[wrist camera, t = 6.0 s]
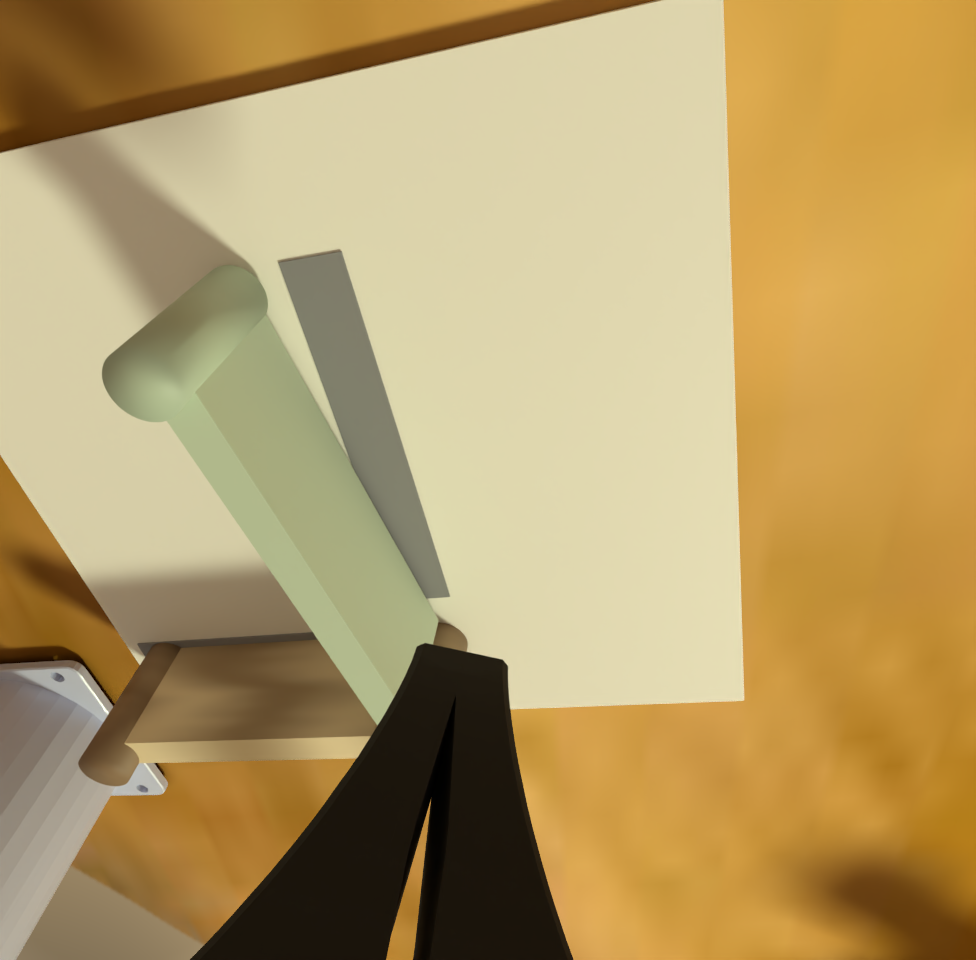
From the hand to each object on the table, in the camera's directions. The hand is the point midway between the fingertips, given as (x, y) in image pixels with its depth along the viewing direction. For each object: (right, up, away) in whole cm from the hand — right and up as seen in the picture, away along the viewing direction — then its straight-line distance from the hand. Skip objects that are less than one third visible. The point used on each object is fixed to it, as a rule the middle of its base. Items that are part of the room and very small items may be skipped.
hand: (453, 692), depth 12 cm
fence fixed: (-6, -3, +14) cm, 15 cm away
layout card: (-3, +3, +10) cm, 11 cm away
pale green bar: (-4, +4, +9) cm, 11 cm away
